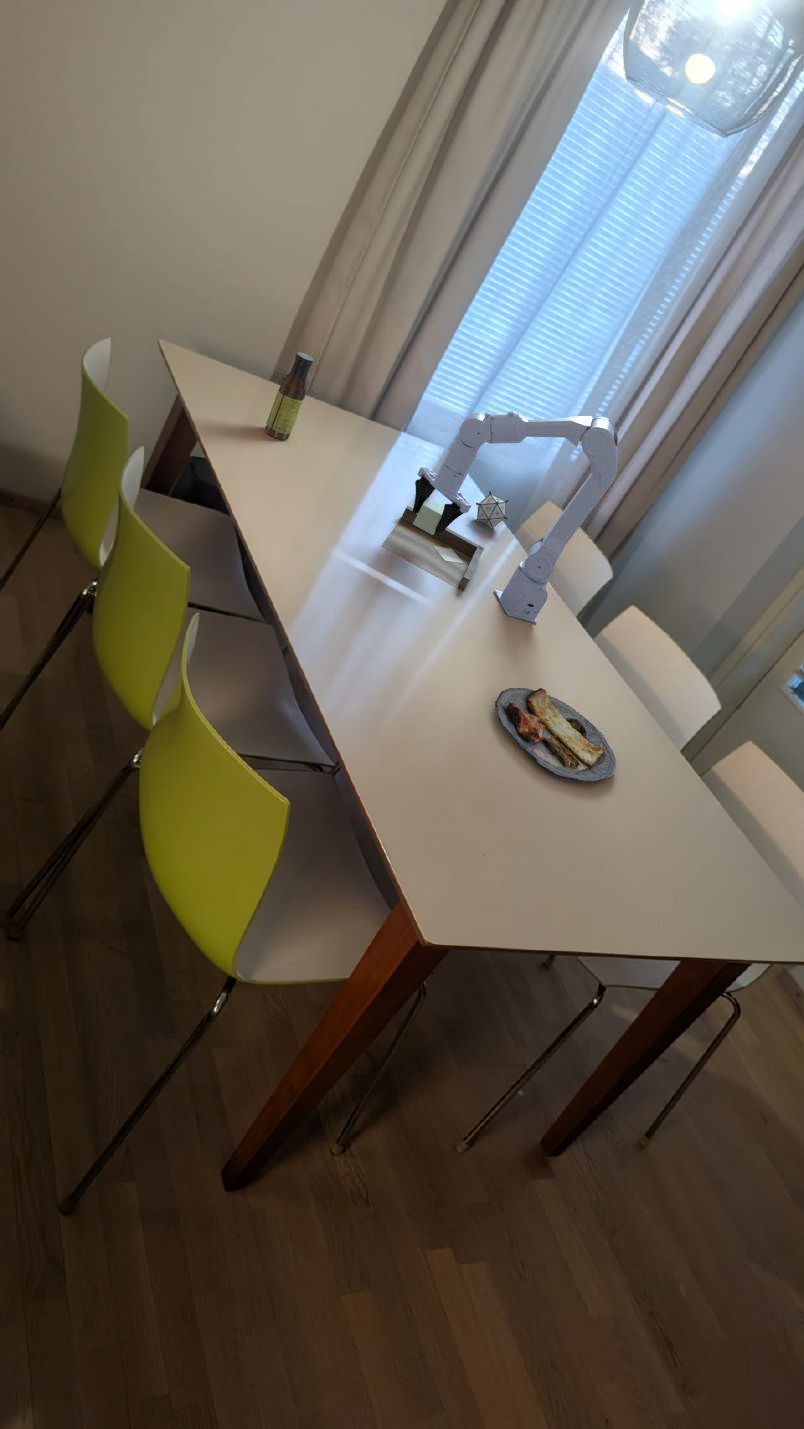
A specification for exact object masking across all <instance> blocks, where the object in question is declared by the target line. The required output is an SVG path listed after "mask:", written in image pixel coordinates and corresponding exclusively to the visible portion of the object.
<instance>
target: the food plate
mask: <svg viewBox="0 0 804 1429" xmlns="http://www.w3.org/2000/svg"><path fill="white" fill-rule="evenodd" d="M494 703H495V704H494V706H495V709H496V714H497V716H499V717H498V722H499V723H501V724H502V726H503V728H504V729H505V730H507V731H508V732H509V733H510V735H511V736H512V737H513V738H514V740H516V742H517V743H518V746H519V747H520V748H521V749H523V750H525V751H526V752H527V753H528V754H529V755H530V756H533V757H534V759H536V762H537V763H538V764H539V765H540V766H542V767H543V768H546V769H547V770H549V771H551V772H552V773H553V774H555V775H558V776H561V777H565V778H567V779H570V778H571V779H576V780H579V781H583V782H587V781H588V782H597V781H602V780H606V779H608V778H610V777H612V776H614V774H615V772H616V768H617V759H616V755H615V752H614V750H613V749H612V748H611V746H610V744H609V743H608V741H607V738H606V737H605V735H604V734H603V733H602V732H601V731H600V730H599V729H598V728H597V727H596V726H595V725H594V724H593V723H592V722H590V720H588V719H587V718H586V717H584V716H583V714H581V713H580V712H578V711H577V710H576V708H575V709H574V707H572V706H570V705H568V704H567V702H564V701H562V700H560V699H559V698H556V697H554V696H552V695H549V694H548V692H547V690H546V689H544V688H543V687H539V688H538V689H536V690H533V689H530V688H528V687H527V688H526V687H509V688H507V689H504V690H502V691H501V692H500V693H499V694H498V697H497V699H496V700H495V702H494ZM535 749H536V751H538V752H541V753H543V754H544V757H545V758H546V759H543V757H542V756H540V755H539V753H538V752H536V751H534V750H535ZM548 756H551V757H552V758H555V759H554V760H555V761H556V760H558V761H559V763H561V766H563V767H561V766H557V765H555V764H553V763H551V762H550V761H548V760H547V759H548ZM580 763H582V765H585V766H586V768H583V769H580V770H576V771H575V769H576V768H578V766H579V767H580V766H582V765H581V764H580ZM565 768H569V769H571V770H569V769H565ZM572 769H574V770H572Z"/></svg>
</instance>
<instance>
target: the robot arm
mask: <svg viewBox="0 0 804 1429" xmlns="http://www.w3.org/2000/svg"><path fill="white" fill-rule="evenodd" d="M527 437H529V438H531V437H532V438H533V437H534V438H538V437H539V438H564V439H567V441H569V442H570V443H571V444H573V445H574V446H575V447H578V445H579V442H580V443H581V444H580V445H581V449H582V451H583V454H584V455H585V456H586V457H587V459H588V461H589V464H590V469H591V472H590V473H589V474H588V476H587V478H586V479H585V481H584V482H583V483H582V484H581V486H580V487H579V489H578V490H577V491H576V493H575V494H574V496H573V497H572V499H571V500H570V501H569V502H568V504H567V505H566V506H565V508H564V509H563V511H562V512H561V513H560V515H559V516H558V517H557V519H556V520H555V522H554V523H553V524H552V526H551V527H550V528H549V529H548V530H547V531H546V532H545V533H544V535H543V536H542V537H541V538H540V539H537V540H535V541H534V542H532V544H531V545H530V546H529V550H528V555H527V558H526V559H525V560H523V561H522V560H521V562H520V563H519V565H517V568H516V569H515V571H514V573H513V574H512V576H511V578H510V579H509V580H508V583H507V584H506V585H505V588H504V589H503V591H502V590H498V589H494V594H495V596H496V597H497V599H498V601H499V603H500V604H501V606H502V608H503V610H504V612H505V614H506V615H507V616H509V617H513V618H516V619H520V620H524V621H528V622H531V623H535V624H536V623H538V620H537V617H538V615H539V613H540V612H541V610H542V609H543V607H544V606H545V605H546V604H545V603H547V600H548V597H549V594H548V591H547V584H548V582H549V580H550V577H551V576H552V575H553V574H554V571H555V565H556V563H557V561H558V559H559V558H560V557H561V555H562V554H563V551H564V549H565V548H566V545H567V544H568V543H569V541H570V540H571V539H572V538H573V536H574V535H575V533H576V532H577V531H578V530H579V528H580V526H581V525H583V523H584V521H585V520H586V519H587V518H588V516H589V515H590V514H591V512H592V510H593V509H594V508H595V506H597V504H598V503H599V501H600V500H601V498H602V497H603V496H604V495H605V493H606V492H607V490H608V489H609V488H610V487H611V485H612V484H613V483H614V481H615V480H616V478H617V471H618V457H619V455H618V451H619V436H618V432H617V430H616V427H615V424H614V423H613V422H612V420H610V419H609V418H607V417H604V416H598V417H597V416H596V417H594V418H593V416H590V415H582V416H572V417H571V416H569V417H552V418H539V419H526V417H524V416H523V415H522V414H521V413H516V411H514V410H510V411H508V412H507V414H506V413H505V414H491V413H490V412H485V413H484V415H483V414H482V413H481V412H480V413H479V412H476V413H471V414H469V415H468V416H467V417H466V418H465V419H464V421H463V422H462V424H461V425H460V427H459V433H458V434H457V435H456V437H455V440H454V442H453V443H452V444H451V445H450V448H449V450H448V452H447V454H446V455H445V458H444V460H443V462H442V463H441V465H440V468H439V470H438V472H437V473H435V471H432V470H431V469H430V468H429V467H427V466H420V468H419V470H418V472H417V474H416V475H417V476H418V477H420V478H419V479H416V480H415V483H414V485H415V494H414V495H415V497H414V502H413V507H412V509H413V511H412V512H413V513H419V511H420V509H421V507H422V505H423V503H424V502H425V501H426V499H427V498H429V499H430V496H431V495H432V494H433V493H434V491H435V490H436V491H438V492H439V493H440V494H441V495H443V497H445V498H446V499H447V500H448V501H450V502H451V503H444V505H443V506H444V510H443V514H442V517H441V519H440V521H439V523H438V525H437V527H436V529H435V532H436V533H443V531H444V530H445V529H446V528H449V525H451V524H453V522H454V521H455V520H456V519H458V518H459V517H461V516H462V515H463V514H468V513H469V512H470V509H471V507H472V505H473V504H471V503H470V502H469V500H467V498H466V497H465V496H464V495H463V494H462V492H461V491H460V490H461V487H462V485H463V484H464V481H465V480H466V479H467V476H468V475H469V472H470V470H471V468H472V466H473V464H474V462H475V460H476V459H477V457H478V452H479V450H480V448H481V447H482V446H483V445H484V444H485V443H487V444H491V445H492V444H493V445H494V444H495V445H496V444H521V443H522V442H523V441H524V440H525V438H527Z"/></svg>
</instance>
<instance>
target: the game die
mask: <svg viewBox="0 0 804 1429" xmlns="http://www.w3.org/2000/svg"><path fill="white" fill-rule="evenodd" d="M509 501H510V500H508V499H507V500H503V499H501V498H499V497H497V496H495V495H493V494H492V491H491V490H489V491H488V495H487V496H486V497H485V498H483V500H481V501H480V502H475V505H476V506H477V513H476V519H475V520H476V522H480V523H483V524H484V525H487V526H489V527H490V528H491V530H492V529H493V531H494V530H495V527H496V526H497V525H498V524H500V523H501V522H502V521H503V520H508V519H509V518H508V517H506V510H507V503H508V502H509Z"/></svg>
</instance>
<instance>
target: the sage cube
mask: <svg viewBox="0 0 804 1429" xmlns="http://www.w3.org/2000/svg"><path fill="white" fill-rule="evenodd" d="M443 510H444V505H442V504H440V503H438V502H437V501H435V500H433V499H431V498H430V497H429V498H427V499H426V501H425V502H424V503H423V505H422V507H421V509H420V511H419V513H418V515H417V517H416V519H415V521H414V523H413V525H415V526H417V527H419V528H421V529H422V530H424V531H426V532H428V533H430V534H432V535H434V533H435V529H436V527H437V525H438V523H439V521H440V519H441V517H442V514H443Z"/></svg>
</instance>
